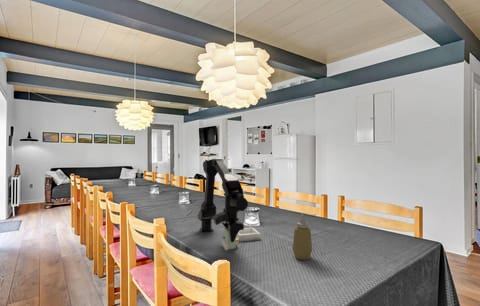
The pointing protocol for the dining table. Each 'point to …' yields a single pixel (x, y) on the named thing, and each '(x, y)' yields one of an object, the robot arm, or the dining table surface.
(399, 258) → the dining table surface
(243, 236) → the tray
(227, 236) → the block
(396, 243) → the dining table surface
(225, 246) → the crank housing
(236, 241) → the crank
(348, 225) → the dining table surface
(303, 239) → the squeeze bottle
